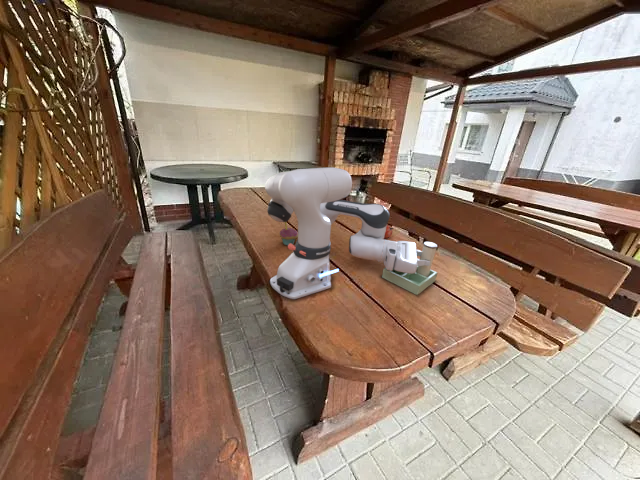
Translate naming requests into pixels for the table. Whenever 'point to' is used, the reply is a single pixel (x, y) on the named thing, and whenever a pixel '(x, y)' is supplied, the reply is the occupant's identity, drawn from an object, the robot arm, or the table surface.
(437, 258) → the table surface
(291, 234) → the cupcake
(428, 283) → the compartment tray
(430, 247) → the capped cylinder
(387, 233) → the pomegranate
